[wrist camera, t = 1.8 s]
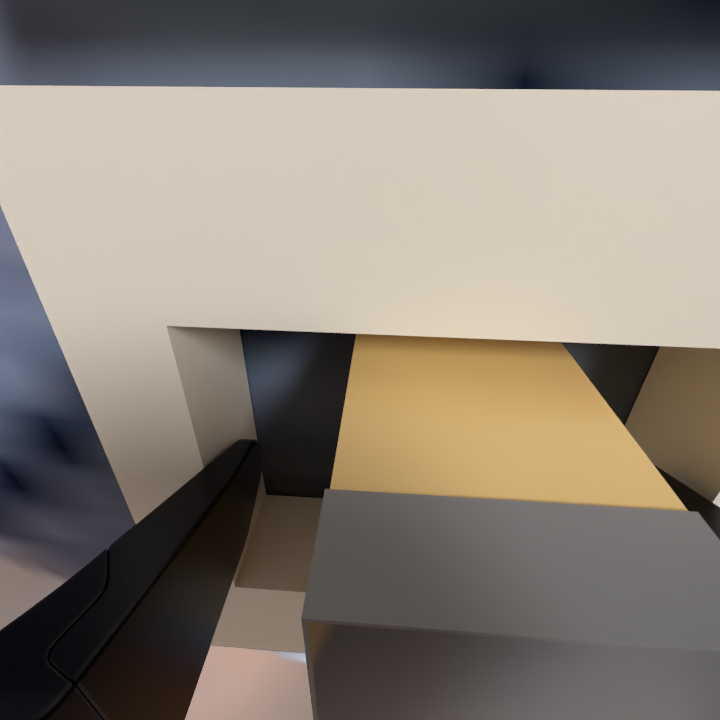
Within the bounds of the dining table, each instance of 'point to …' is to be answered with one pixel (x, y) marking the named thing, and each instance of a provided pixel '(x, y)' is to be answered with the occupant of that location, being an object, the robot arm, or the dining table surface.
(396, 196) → the white square frame
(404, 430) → the block
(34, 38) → the dining table surface
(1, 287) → the dining table surface
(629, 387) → the dining table surface
